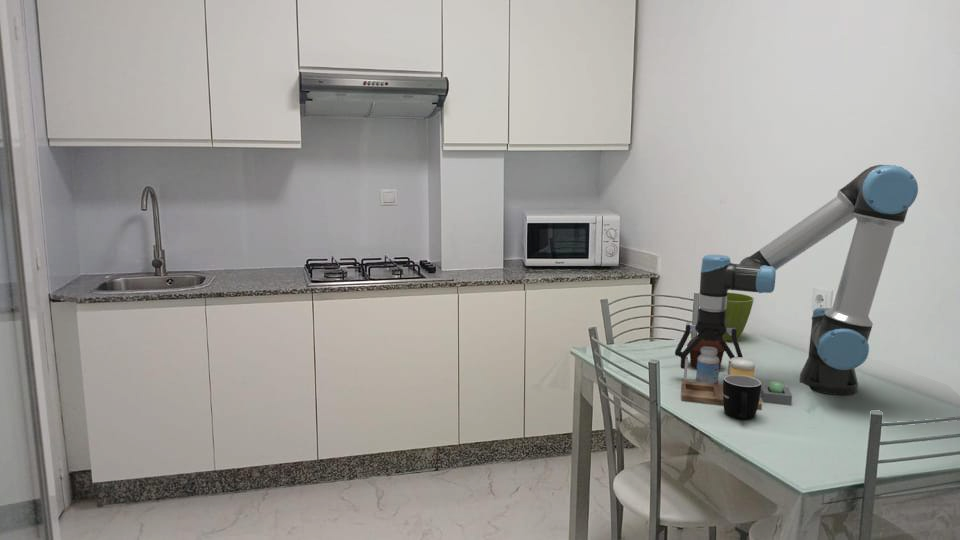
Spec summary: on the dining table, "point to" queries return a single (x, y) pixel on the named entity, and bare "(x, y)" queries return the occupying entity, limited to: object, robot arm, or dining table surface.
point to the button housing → (776, 396)
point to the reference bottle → (742, 366)
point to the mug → (741, 396)
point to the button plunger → (776, 387)
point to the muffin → (702, 343)
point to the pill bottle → (707, 366)
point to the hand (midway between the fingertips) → (706, 381)
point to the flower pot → (737, 313)
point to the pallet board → (704, 393)
